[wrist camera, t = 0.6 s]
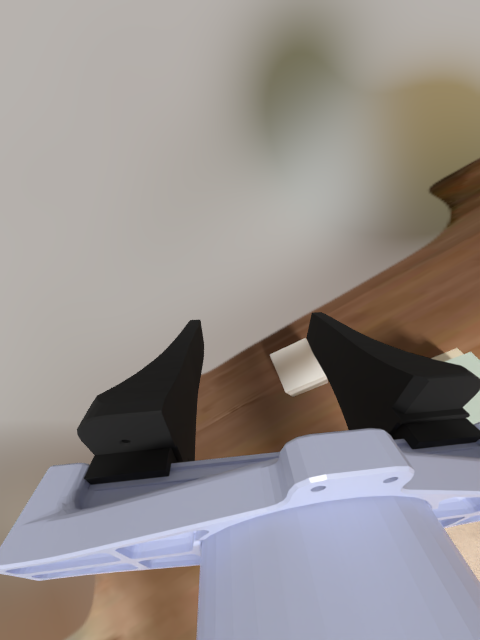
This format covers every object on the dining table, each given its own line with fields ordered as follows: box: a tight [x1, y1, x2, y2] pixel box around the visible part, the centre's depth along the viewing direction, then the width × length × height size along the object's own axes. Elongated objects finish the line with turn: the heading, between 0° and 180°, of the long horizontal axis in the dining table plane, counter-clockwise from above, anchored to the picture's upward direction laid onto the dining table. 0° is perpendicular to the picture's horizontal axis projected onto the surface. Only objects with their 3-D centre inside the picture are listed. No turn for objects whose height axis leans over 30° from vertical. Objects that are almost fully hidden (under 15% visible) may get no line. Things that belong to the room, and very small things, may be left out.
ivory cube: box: [270, 338, 328, 397], centre depth 26 cm, size 5×5×5 cm
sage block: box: [445, 352, 480, 424], centre depth 18 cm, size 7×7×3 cm
